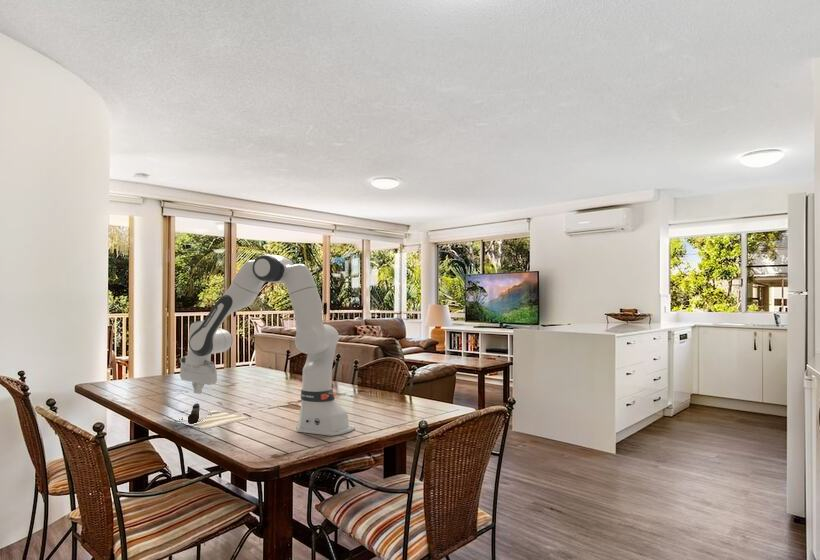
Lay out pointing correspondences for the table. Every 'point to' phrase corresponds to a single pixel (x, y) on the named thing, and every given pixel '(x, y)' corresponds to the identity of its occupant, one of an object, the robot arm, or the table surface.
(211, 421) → the sheet
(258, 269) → the robot arm
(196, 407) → the hand tool
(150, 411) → the table surface
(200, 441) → the table surface
